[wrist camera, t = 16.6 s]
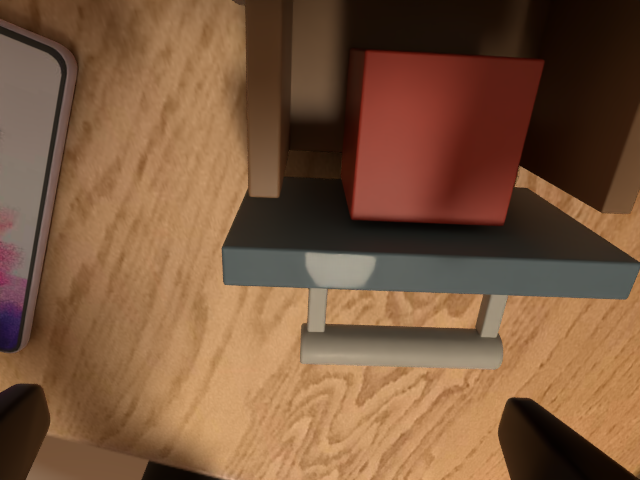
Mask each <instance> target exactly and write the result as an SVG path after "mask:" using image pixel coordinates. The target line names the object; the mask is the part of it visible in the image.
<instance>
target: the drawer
mask: <svg viewBox="0 0 640 480" xmlns="http://www.w3.org/2000/svg"><path fill="white" fill-rule="evenodd" d="M245 18H246V77H247V137H248V190H247V192H246V194H245V196H244V199H243V201H242V203H241V205H240V208H239V210H238V212H237V215H236V217H235V219H234V221H233V224H232V226H231V228H230V230H229V233H228V235H227V237H226V240H225V242H224V244H223V246H222V265H223V282H224V284H225V285H239V286H266V287H294V288H309V298H308V318H307V323H303V324H302V326H301V348H300V362H301V363H302V364H323V365H357V366H391V367H426V368H460V369H494V370H495V369H498V368H499V367H500V366H501V363H502V360H503V345H502V341H501V338H500V336H499V334H498V331H499V327H500V324H501V320H502V316H503V313H504V309H505V306H506V302H507V298H508V295H515V296H542V297H570V298H597V299H627V298H628V296H629V294H630V291H631V289H632V287H633V284H634V282H635V279H636V277H637V275H638V272H639V270H640V262H638V261H637V260H635V259H634V258H632V257H631V256H629V255H628V254H626V253H625V252H623V251H622V250H620V249H619V248H617V247H616V246H614V245H613V244H611V243H610V242H608V241H607V240H605V239H604V238H602V237H601V236H599V235H598V234H596V233H595V232H593V231H592V230H590V229H589V228H587V227H585V226H584V225H582V224H581V223H579V222H578V221H576V220H575V219H573V218H572V217H570V216H569V215H567V214H566V213H564V212H563V211H561V210H560V209H558V208H557V207H555V206H554V205H552V204H551V203H549V202H548V201H546V200H545V199H543V198H542V197H540V196H539V195H537V194H536V193H534V192H532V191H531V190H529V189H528V188H517V187H513V191H512V195H511V199H510V203H509V207H508V211H507V215H506V219H505V223H504V225H503V226H485V225H461V224H436V223H412V222H387V221H363V220H351V218H350V214H349V210H348V205H347V201H346V196H345V192H344V188H343V183H342V179H324V178H302V177H284V173H285V169H286V164H287V159H288V154H289V150H297V151H317V152H338V153H342V151H343V137H344V123H345V110H346V96H347V83H348V69H349V55H350V49H351V48H362V49H380V50H397V51H415V52H433V53H450V54H468V55H486V56H503V57H520V58H537V59H543V60H544V62H545V63H544V67H543V71H542V75H541V79H540V83H539V87H538V91H537V95H536V99H535V103H534V107H533V111H532V115H531V119H530V123H529V127H528V131H527V135H526V139H525V143H524V147H523V151H522V155H521V159H520V163H519V165H520V166H521V167H523V168H525V169H527V170H528V171H530V172H532V173H534V174H535V175H537V176H539V177H540V178H542V179H544V180H546V181H547V182H549V183H551V184H553V185H554V186H556V187H558V188H560V189H561V190H563V191H565V192H567V193H568V194H570V195H572V196H573V197H575V198H577V199H579V200H580V201H582V202H584V203H586V204H587V205H589V206H591V207H593V208H594V209H596V210H598V211H599V212H601V213H614V214H630V213H631V211H632V208H633V205H634V203H635V200H636V198H637V195H638V192H639V190H640V0H245ZM328 289H349V290H377V291H404V292H432V293H459V294H483V298H482V302H481V306H480V310H479V314H478V318H477V322H476V326H475V327H476V329H464V328H434V327H404V326H373V325H343V324H325V320H326V306H327V291H328Z"/></svg>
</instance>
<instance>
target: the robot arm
mask: <svg viewBox="0 0 640 480" xmlns="http://www.w3.org/2000/svg"><path fill="white" fill-rule="evenodd" d="M49 425H50V413H49V409H48V405H47V401H46V397H45V393H44V390H43V388H42V387H41V386H40V385H38V384H16V385H13V386H11V387H9V388H8V389H6V390H4V391H2V392H1V393H0V480H26V478H27V475H28V473H29V471H30V469H31V467H32V464H33V462H34V460H35V458H36V455H37V453H38V451H39V449H40V447H41V445H42V442H43V440H44V438H45V436H46V434H47V431H48V429H49ZM498 437H499V441H500V445H501V448H502V452H503V455H504V458H505V462H506V465H507V468H508V472H509V475H510V478H511V480H640V479H638V478H637V477H636V476H634V475H633V474H632V473H630V472H629V471H628V470H626V469H625V468H624V467H622V466H621V465H620V464H618V463H617V462H616V461H614V460H613V459H611V458H610V457H609V456H607V455H606V454H605V453H603V452H602V451H601V450H599V449H598V448H597V447H595V446H594V445H593V444H591V443H590V442H589V441H587V440H586V439H585V438H583V437H582V436H581V435H579V434H578V433H577V432H575V431H574V430H573V429H571V428H570V427H569V426H567V425H566V424H565V423H563V422H562V421H560V420H559V419H558V418H556V417H555V416H554V415H552V414H551V413H550V412H548V411H547V410H546V409H544V408H543V407H542V406H540V405H539V404H538V403H536V402H535V401H533V400H532V399H530V398H509V399H508V400H507V402H506V405H505V408H504V411H503V414H502V418H501V421H500V424H499V428H498Z"/></svg>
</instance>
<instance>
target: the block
mask: <svg viewBox="0 0 640 480" xmlns="http://www.w3.org/2000/svg"><path fill="white" fill-rule="evenodd" d="M544 63H545V62H544V60H543V59H537V58H520V57H503V56H486V55H468V54H450V53H433V52H415V51H397V50H380V49H362V48H351V49H350V55H349V69H348V83H347V96H346V110H345V123H344V137H343V151H342V164H341V179H342V183H343V188H344V192H345V196H346V201H347V205H348V210H349V214H350V218H351V220H363V221H387V222H412V223H436V224H461V225H485V226H503V225H504V223H505V219H506V215H507V211H508V207H509V203H510V199H511V195H512V191H513V187H514V183H515V179H516V175H517V171H518V167H519V163H520V159H521V155H522V151H523V147H524V143H525V139H526V135H527V131H528V127H529V123H530V119H531V115H532V111H533V107H534V103H535V99H536V95H537V91H538V87H539V83H540V79H541V75H542V71H543V67H544Z"/></svg>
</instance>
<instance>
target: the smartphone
mask: <svg viewBox="0 0 640 480" xmlns="http://www.w3.org/2000/svg"><path fill="white" fill-rule="evenodd" d="M76 78H77V63H76V59H75V58H74V56H73V54H72V53H71V52H70V51H69V50H68V49H67V48H66V47H64V46H63V45H61V44H59V43H57V42H55V41H52V40H50V39H48V38H45V37H43V36H40V35H38V34H36V33H33V32H31V31H28V30H26V29H23V28H21V27H19V26H16V25H14V24H11V23H9V22H7V21H4V20H2V19H0V352H4V353H16V352H18V351H20V350H22V349H23V348H24V347H25V346H26V345H27V344H28V342H29V339H30V334H31V328H32V323H33V317H34V312H35V306H36V300H37V295H38V289H39V284H40V278H41V273H42V267H43V261H44V256H45V250H46V245H47V239H48V234H49V228H50V222H51V217H52V211H53V206H54V200H55V195H56V189H57V183H58V178H59V172H60V167H61V161H62V156H63V150H64V144H65V139H66V133H67V128H68V122H69V117H70V111H71V106H72V100H73V94H74V89H75V83H76Z"/></svg>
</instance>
